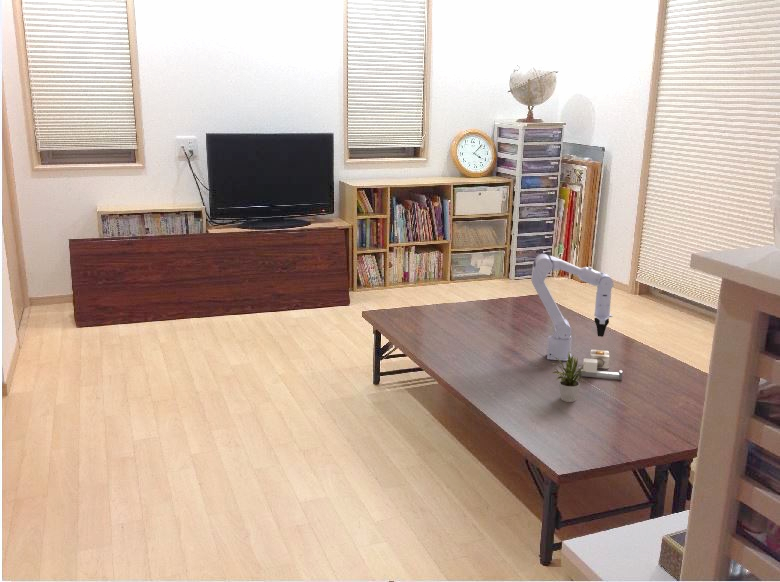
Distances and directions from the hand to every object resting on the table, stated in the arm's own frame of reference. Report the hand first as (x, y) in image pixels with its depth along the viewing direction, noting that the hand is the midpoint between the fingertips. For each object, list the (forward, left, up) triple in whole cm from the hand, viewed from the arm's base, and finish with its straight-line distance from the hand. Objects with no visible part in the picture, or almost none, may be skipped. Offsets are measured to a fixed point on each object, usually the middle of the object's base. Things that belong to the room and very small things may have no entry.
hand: (600, 336), depth 287 cm
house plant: (-12, -43, -10) cm, 46 cm away
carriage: (-4, -20, -10) cm, 23 cm away
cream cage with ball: (0, -7, -10) cm, 12 cm away
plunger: (0, -7, -6) cm, 9 cm away
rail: (0, -20, -10) cm, 22 cm away
